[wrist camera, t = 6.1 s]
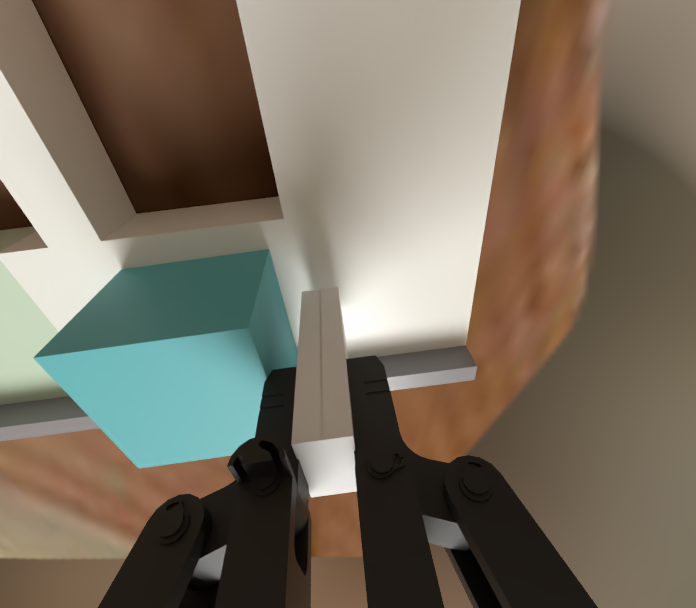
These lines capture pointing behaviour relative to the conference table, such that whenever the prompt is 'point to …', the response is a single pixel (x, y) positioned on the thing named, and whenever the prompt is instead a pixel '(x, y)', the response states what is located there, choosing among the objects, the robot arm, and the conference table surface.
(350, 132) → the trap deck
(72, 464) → the conference table surface
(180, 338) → the teal block
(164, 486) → the conference table surface
